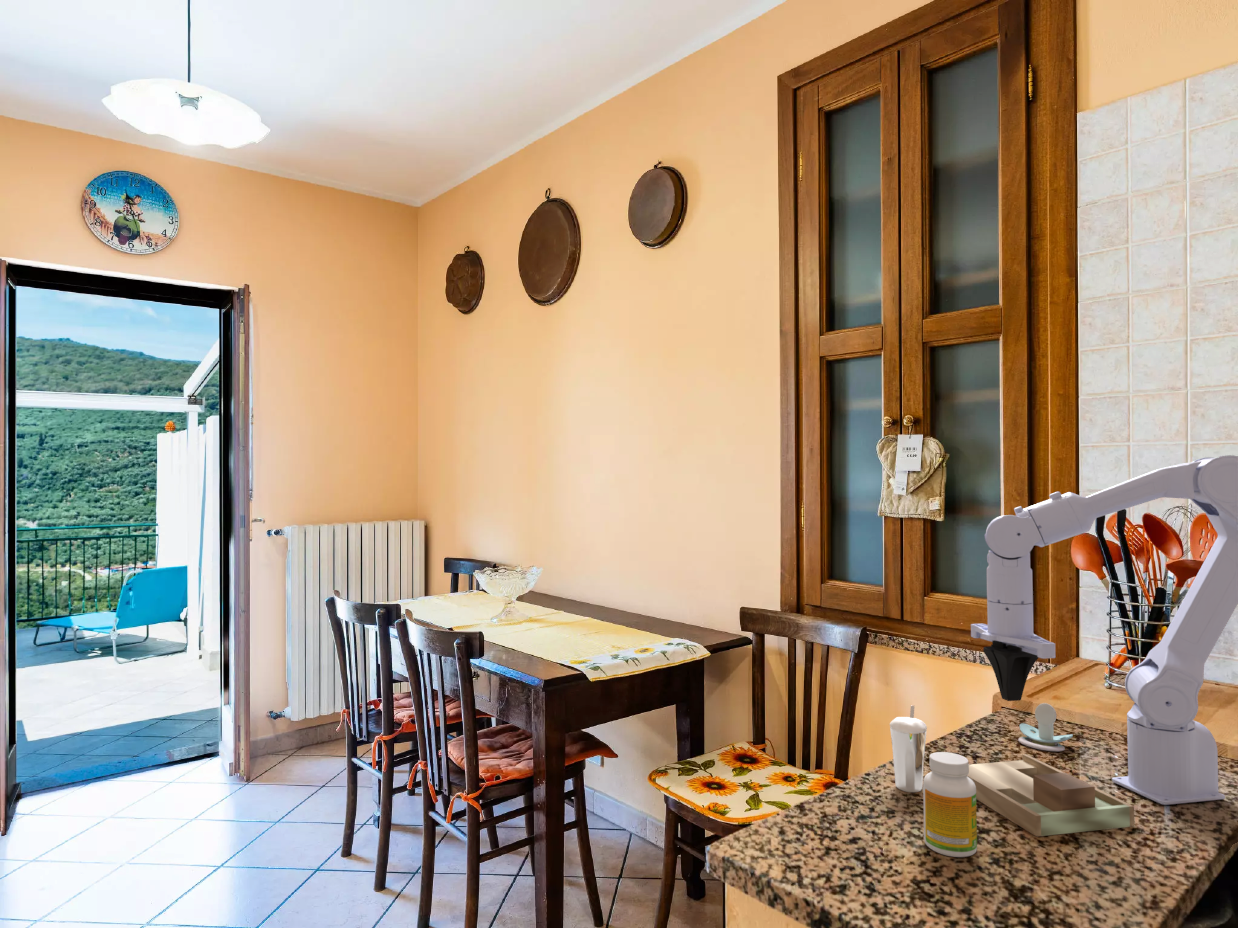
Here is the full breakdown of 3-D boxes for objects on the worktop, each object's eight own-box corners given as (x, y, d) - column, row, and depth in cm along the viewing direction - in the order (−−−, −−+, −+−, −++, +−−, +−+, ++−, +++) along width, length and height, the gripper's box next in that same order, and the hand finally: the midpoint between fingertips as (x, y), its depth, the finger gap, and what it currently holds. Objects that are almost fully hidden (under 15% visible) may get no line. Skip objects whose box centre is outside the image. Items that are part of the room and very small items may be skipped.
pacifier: (1061, 758, 112) (1077, 747, 116) (1060, 715, 112) (1076, 706, 116) (1010, 745, 118) (1026, 735, 121) (1008, 704, 118) (1025, 696, 121)
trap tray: (1026, 770, 106) (1026, 753, 106) (1134, 826, 89) (1133, 806, 89) (942, 777, 104) (942, 760, 104) (1036, 836, 86) (1036, 815, 87)
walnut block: (1065, 797, 94) (1065, 772, 94) (1095, 812, 89) (1094, 786, 89) (1033, 799, 93) (1033, 775, 93) (1061, 815, 88) (1061, 789, 88)
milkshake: (931, 783, 102) (930, 707, 102) (923, 797, 97) (922, 718, 98) (896, 776, 104) (895, 702, 105) (887, 789, 100) (886, 712, 100)
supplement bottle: (983, 860, 81) (981, 768, 81) (929, 855, 82) (927, 764, 82) (970, 837, 86) (969, 750, 87) (919, 833, 87) (918, 747, 88)
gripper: (951, 594, 113) (953, 687, 113) (1021, 610, 99) (1023, 716, 98) (994, 593, 114) (995, 684, 114) (1068, 608, 100) (1070, 713, 100)
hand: (1011, 699), depth 106 cm, fingers closed
